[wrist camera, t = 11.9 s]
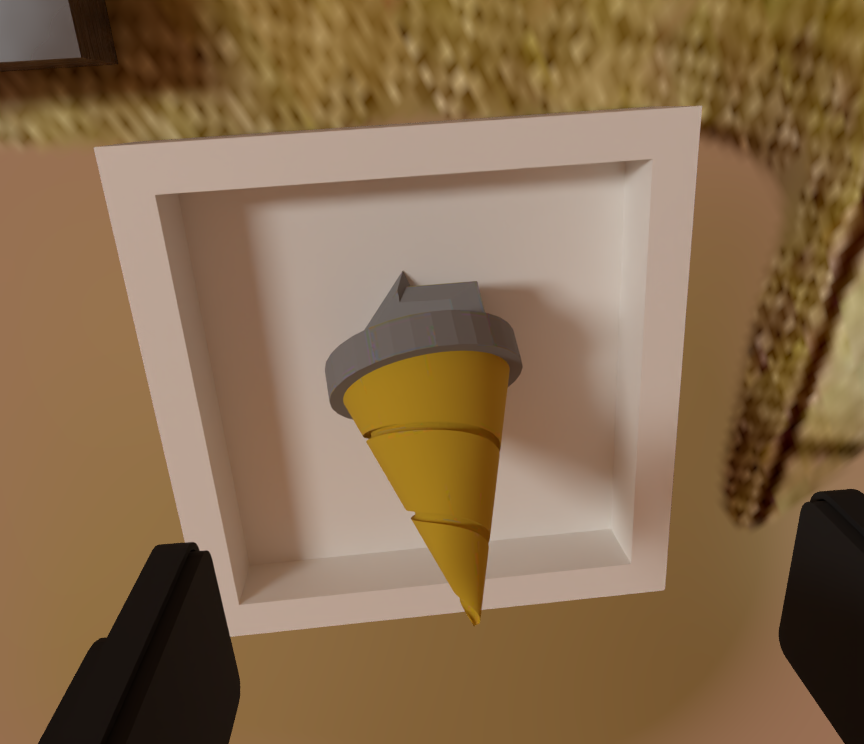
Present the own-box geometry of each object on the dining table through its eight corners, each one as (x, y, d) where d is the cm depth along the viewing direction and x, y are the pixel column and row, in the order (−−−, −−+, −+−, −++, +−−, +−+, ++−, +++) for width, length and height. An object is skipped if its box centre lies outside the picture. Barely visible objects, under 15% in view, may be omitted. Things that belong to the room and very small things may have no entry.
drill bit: (525, 256, 21) (622, 594, 17) (396, 328, 23) (455, 631, 20) (412, 188, 17) (508, 614, 13) (272, 285, 19) (318, 658, 16)
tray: (655, 106, 20) (702, 105, 17) (632, 537, 25) (664, 589, 23) (134, 142, 19) (93, 147, 16) (226, 579, 25) (207, 638, 22)
